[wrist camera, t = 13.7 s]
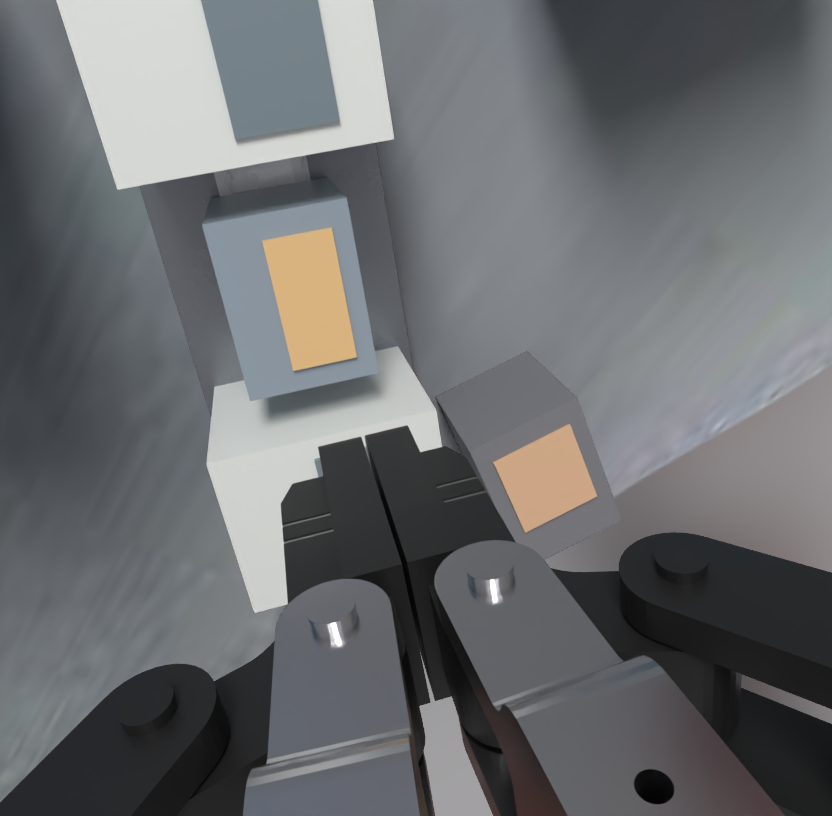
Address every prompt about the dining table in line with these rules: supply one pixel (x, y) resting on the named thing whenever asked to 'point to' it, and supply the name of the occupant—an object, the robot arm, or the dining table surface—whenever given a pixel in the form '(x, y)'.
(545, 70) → the dining table surface
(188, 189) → the rail
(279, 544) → the mounted modules
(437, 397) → the block
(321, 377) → the block
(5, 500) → the dining table surface
